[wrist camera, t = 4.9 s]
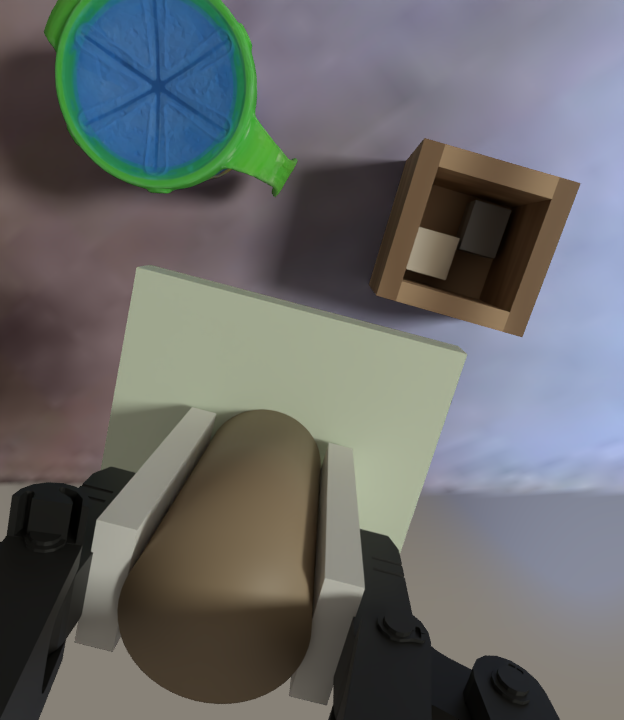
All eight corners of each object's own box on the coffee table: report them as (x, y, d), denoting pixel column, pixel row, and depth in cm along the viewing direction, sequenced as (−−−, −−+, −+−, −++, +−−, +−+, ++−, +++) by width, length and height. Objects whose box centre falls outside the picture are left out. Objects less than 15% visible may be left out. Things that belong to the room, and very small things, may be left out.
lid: (100, 540, 19) (-76, 765, 11) (150, 264, 16) (-24, 288, 8) (370, 608, 19) (397, 880, 11) (457, 346, 17) (573, 445, 9)
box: (368, 284, 39) (376, 295, 31) (406, 160, 37) (424, 138, 29) (485, 318, 39) (522, 337, 31) (529, 196, 37) (580, 183, 29)
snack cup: (335, 137, 36) (334, 98, 27) (243, 255, 39) (210, 260, 29) (157, -20, 35) (84, -124, 25) (71, 112, 37) (-27, 65, 27)
